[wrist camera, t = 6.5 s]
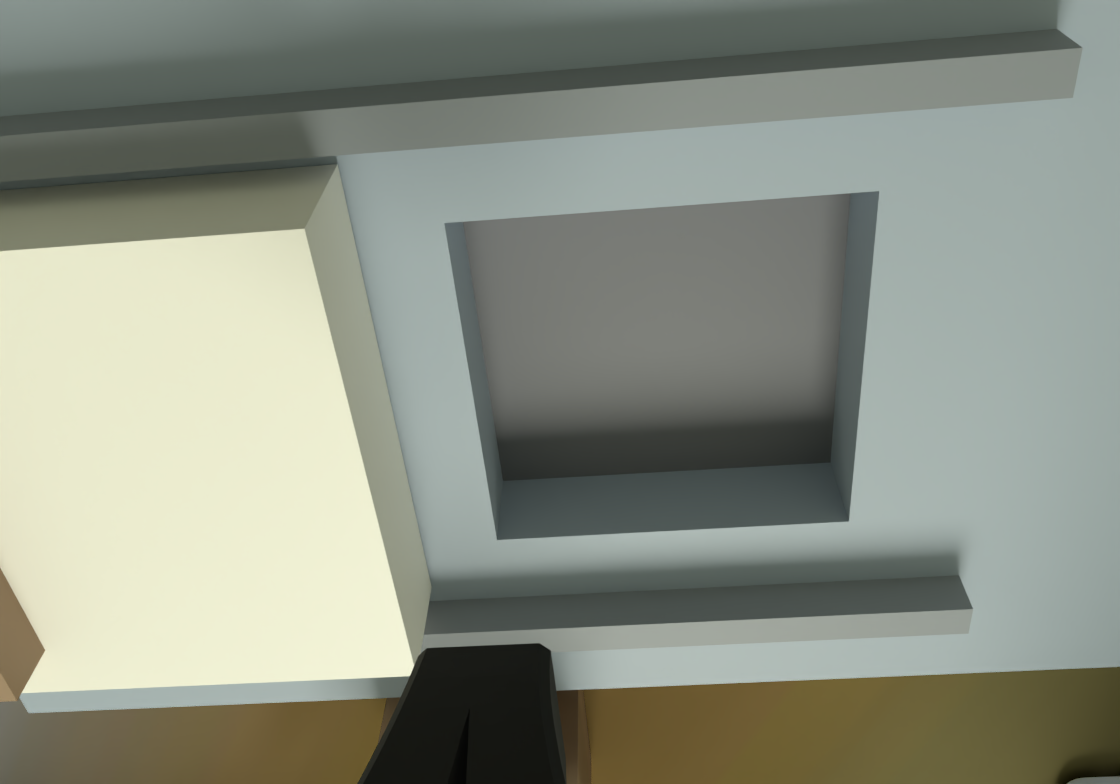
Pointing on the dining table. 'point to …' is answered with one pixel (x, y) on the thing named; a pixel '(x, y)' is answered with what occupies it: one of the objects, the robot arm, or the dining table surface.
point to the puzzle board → (680, 307)
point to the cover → (197, 441)
